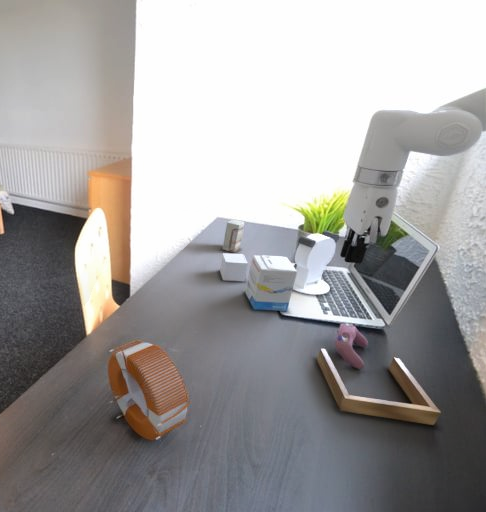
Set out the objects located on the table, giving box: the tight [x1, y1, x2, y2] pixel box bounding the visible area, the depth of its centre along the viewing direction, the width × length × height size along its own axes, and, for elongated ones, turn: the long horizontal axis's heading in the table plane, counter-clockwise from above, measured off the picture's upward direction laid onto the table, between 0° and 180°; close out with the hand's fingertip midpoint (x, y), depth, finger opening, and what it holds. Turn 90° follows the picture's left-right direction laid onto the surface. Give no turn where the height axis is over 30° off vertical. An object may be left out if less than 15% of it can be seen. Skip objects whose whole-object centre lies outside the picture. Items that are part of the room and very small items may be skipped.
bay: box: [316, 348, 442, 426], centre depth 69 cm, size 14×14×3 cm
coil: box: [107, 340, 190, 441], centre depth 61 cm, size 7×15×15 cm, turn 29°
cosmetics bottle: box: [222, 218, 246, 254], centre depth 125 cm, size 5×4×10 cm
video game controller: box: [334, 323, 369, 370], centre depth 77 cm, size 10×5×7 cm, turn 141°
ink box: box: [245, 254, 297, 312], centre depth 94 cm, size 9×8×12 cm
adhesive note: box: [219, 252, 249, 282], centre depth 109 cm, size 6×6×6 cm
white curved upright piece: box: [292, 229, 340, 296], centre depth 101 cm, size 12×11×15 cm
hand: (350, 259), depth 80 cm, fingers closed
